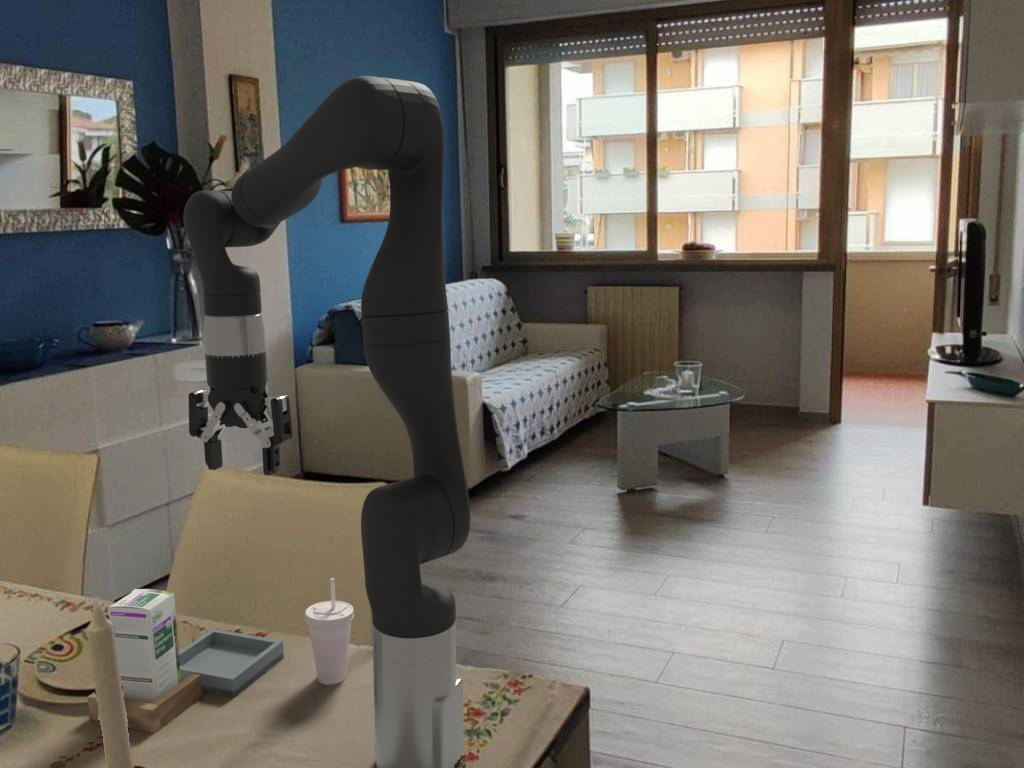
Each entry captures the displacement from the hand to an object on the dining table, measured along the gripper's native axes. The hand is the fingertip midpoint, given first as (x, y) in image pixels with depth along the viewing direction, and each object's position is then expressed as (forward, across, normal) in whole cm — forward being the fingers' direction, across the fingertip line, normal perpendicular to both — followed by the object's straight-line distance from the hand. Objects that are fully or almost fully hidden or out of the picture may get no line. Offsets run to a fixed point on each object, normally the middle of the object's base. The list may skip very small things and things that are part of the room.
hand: (242, 471), depth 127 cm
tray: (+28, +4, +2) cm, 28 cm away
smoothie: (+28, -11, -1) cm, 30 cm away
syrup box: (+28, +7, +13) cm, 32 cm away
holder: (+28, +7, +13) cm, 31 cm away
